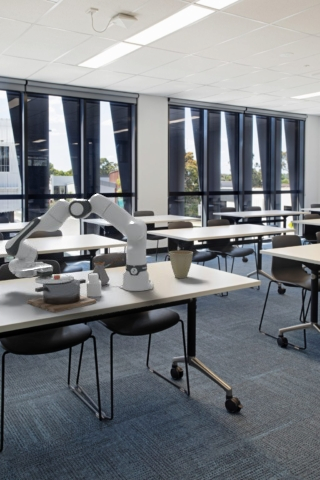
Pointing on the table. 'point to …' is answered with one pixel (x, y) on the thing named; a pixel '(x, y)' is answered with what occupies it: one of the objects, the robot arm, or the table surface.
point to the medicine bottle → (93, 285)
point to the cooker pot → (61, 292)
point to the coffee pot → (103, 271)
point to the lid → (52, 277)
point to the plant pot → (181, 262)
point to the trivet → (58, 308)
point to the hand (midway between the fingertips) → (42, 272)
